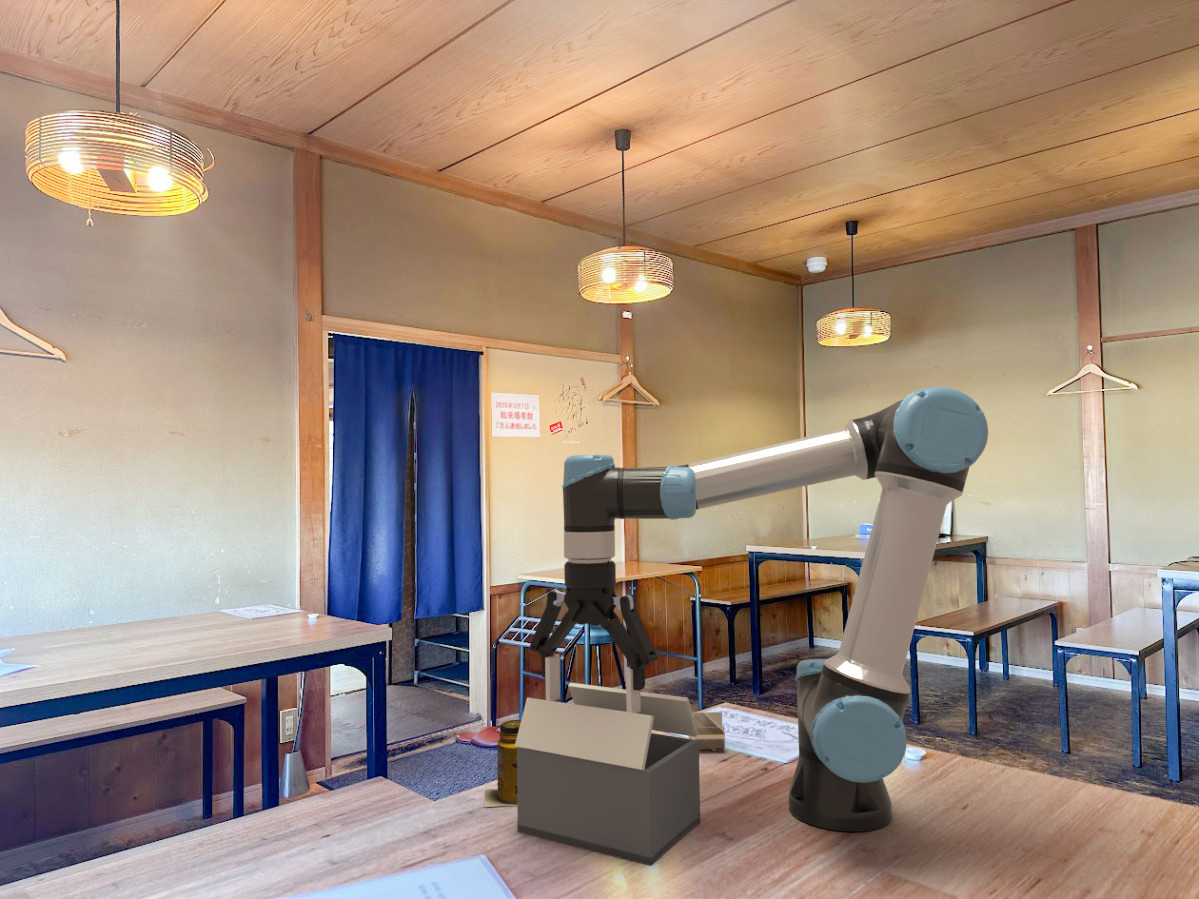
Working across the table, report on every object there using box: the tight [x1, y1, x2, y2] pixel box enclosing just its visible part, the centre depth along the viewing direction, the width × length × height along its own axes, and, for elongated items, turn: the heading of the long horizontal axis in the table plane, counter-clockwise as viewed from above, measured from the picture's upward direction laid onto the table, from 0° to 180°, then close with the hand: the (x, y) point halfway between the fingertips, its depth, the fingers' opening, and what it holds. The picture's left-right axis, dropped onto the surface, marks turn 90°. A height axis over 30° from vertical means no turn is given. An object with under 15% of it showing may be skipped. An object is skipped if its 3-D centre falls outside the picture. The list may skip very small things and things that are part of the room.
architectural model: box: [688, 711, 726, 752], centre depth 151 cm, size 3×7×7 cm, turn 89°
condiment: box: [483, 719, 522, 808], centre depth 128 cm, size 7×8×12 cm
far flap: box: [567, 682, 699, 737], centre depth 123 cm, size 21×7×1 cm
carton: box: [516, 732, 701, 866], centre depth 116 cm, size 22×16×12 cm
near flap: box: [515, 697, 654, 771], centre depth 111 cm, size 21×7×1 cm
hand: (592, 707), depth 114 cm, fingers open, 13 cm apart
